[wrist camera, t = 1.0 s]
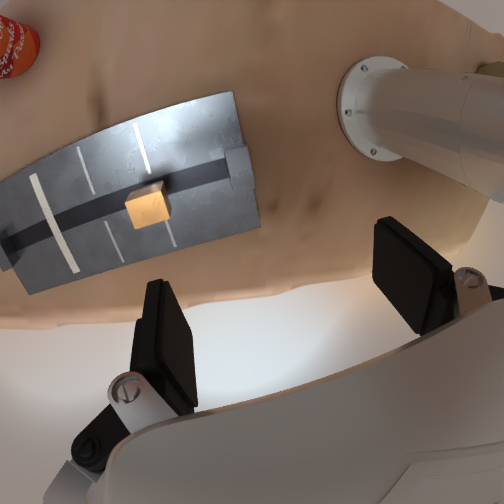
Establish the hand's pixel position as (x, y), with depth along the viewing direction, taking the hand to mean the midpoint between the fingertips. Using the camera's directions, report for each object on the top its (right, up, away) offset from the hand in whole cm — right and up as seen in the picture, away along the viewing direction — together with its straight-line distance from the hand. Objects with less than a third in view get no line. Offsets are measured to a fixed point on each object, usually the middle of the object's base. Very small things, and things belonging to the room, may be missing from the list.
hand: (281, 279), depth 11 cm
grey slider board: (-16, +6, +16) cm, 24 cm away
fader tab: (-10, +7, +15) cm, 19 cm away
